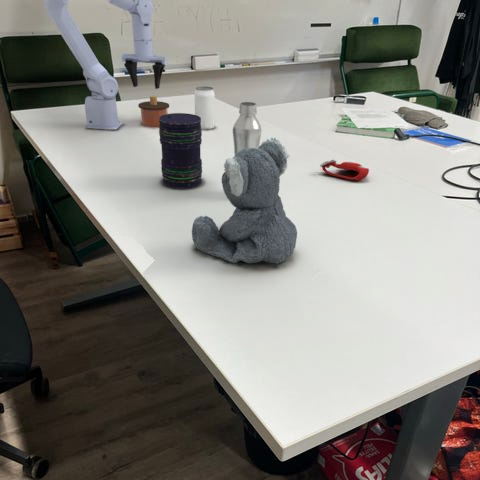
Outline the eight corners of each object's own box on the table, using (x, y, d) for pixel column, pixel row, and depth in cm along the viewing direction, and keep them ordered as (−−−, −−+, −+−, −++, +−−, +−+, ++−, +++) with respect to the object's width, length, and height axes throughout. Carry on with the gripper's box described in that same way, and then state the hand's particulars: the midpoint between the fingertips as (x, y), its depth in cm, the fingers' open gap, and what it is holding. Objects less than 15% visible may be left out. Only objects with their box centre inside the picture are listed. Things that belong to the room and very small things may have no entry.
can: (213, 130, 157) (214, 90, 150) (194, 129, 157) (193, 89, 150) (215, 125, 162) (215, 86, 155) (196, 124, 162) (195, 85, 155)
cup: (138, 126, 157) (137, 108, 154) (145, 120, 164) (144, 102, 161) (164, 128, 157) (163, 110, 154) (170, 121, 164) (169, 104, 160)
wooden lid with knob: (134, 109, 154) (133, 98, 152) (143, 102, 162) (142, 92, 160) (165, 111, 153) (164, 100, 151) (172, 104, 161) (171, 94, 159)
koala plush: (243, 220, 101) (247, 124, 90) (315, 248, 92) (330, 145, 81) (185, 249, 90) (181, 143, 79) (260, 283, 81) (268, 169, 70)
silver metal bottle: (261, 191, 115) (267, 102, 103) (253, 201, 110) (258, 109, 98) (236, 187, 117) (239, 99, 105) (226, 197, 111) (228, 105, 99)
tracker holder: (353, 163, 131) (378, 165, 123) (350, 179, 132) (374, 183, 124) (318, 157, 125) (341, 159, 117) (314, 174, 127) (338, 177, 118)
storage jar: (209, 180, 120) (209, 117, 111) (188, 192, 113) (186, 126, 104) (176, 172, 124) (174, 110, 115) (154, 183, 116) (149, 119, 108)
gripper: (169, 40, 152) (171, 86, 160) (126, 37, 154) (130, 83, 162) (161, 42, 146) (164, 90, 154) (117, 39, 149) (122, 87, 157)
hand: (146, 87), depth 158 cm, fingers open, 7 cm apart
